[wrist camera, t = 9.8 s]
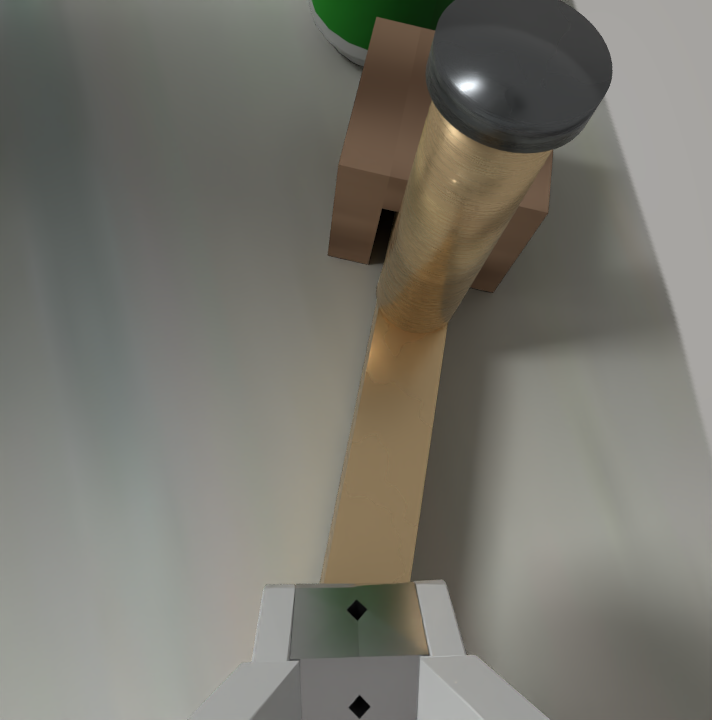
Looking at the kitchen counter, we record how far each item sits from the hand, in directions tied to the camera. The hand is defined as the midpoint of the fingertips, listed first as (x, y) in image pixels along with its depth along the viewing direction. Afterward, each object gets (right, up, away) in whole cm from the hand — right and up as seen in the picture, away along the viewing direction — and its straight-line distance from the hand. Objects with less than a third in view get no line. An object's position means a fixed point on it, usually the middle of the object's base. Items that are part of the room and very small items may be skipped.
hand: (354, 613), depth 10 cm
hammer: (+1, 0, +10) cm, 10 cm away
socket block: (+3, +11, +15) cm, 19 cm away
